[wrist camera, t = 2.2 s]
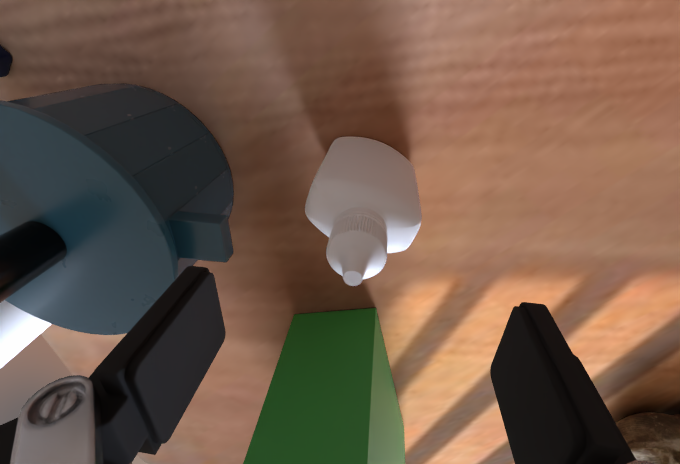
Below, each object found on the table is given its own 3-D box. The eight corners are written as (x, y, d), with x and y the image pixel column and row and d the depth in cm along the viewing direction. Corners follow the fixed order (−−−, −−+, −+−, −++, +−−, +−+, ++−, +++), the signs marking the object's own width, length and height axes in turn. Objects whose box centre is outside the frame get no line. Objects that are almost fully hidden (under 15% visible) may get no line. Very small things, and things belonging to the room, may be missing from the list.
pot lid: (-134, 88, 15) (-342, 111, 11) (146, 103, 14) (36, 136, 10) (9, 309, 22) (-83, 377, 18) (205, 333, 21) (157, 412, 17)
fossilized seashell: (778, 431, 27) (635, 389, 29) (802, 536, 24) (641, 481, 26) (695, 428, 33) (584, 394, 35) (707, 509, 30) (584, 467, 32)
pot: (-1, 77, 23) (-186, 100, 15) (261, 90, 21) (192, 122, 14) (72, 237, 29) (-34, 306, 22) (276, 257, 27) (234, 339, 20)
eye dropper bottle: (371, 212, 24) (358, 347, 14) (317, 153, 22) (255, 257, 12) (422, 175, 22) (450, 299, 12) (367, 108, 21) (345, 186, 10)
